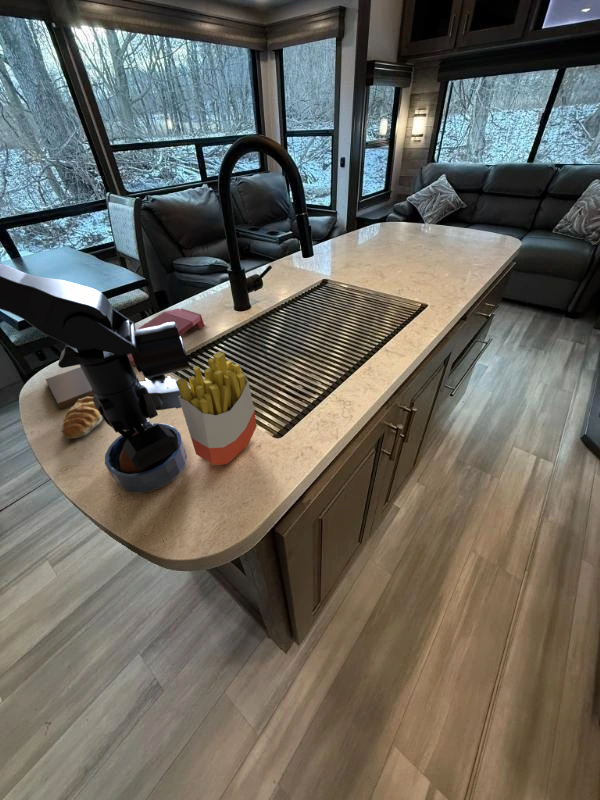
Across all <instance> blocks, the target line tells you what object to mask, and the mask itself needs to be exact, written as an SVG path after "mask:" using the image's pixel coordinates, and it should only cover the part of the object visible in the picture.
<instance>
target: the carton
mask: <svg viewBox="0 0 600 800" xmlns="http://www.w3.org/2000/svg"><path fill="white" fill-rule="evenodd" d="M170 322H175V323H176V325H177V329H178V332H179V336H180V337H181V336H182V335H183V334H185V333H186V332H187V331H189V330H191V328H195V329H198V330H201V329H203V328H204V327H205V326H206V325H205V322H204V320H203V317H202V314H200V313H198V312H194V311H191V310H188V309H184V308H175V309H169V310H166V311H162V312H161V313H159V314H158V315H157V316H155V317H153V318H152V319H151V320H149V321H147V322H145V323H144V324H143V325H141V326H140V327H138V328H137V329H136V330H140V329H145V328H151V327H156V326H160V325H163V324H165V323H170ZM128 356H129V359H130V361H131V364H132V366H136V365H135V363H134V360H133V357H132V354H128Z"/></svg>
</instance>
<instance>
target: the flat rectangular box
mask: <svg viewBox="0 0 600 800" xmlns="http://www.w3.org/2000/svg"><path fill="white" fill-rule="evenodd" d="M45 381H46V383H47V386H48V388H49V389H50V391H51V392H52V396H53V397H54V399H55V401H56V403H57V405H58V406H59V408H60V409H64V408H67V407H70V406H72V405H75V403H76V402H77V401H78V399H82V398H84V397H94V394H93V392H92V390H91V389H92V388H91V386H90V384H89V382H88V380H87V378H86V376H85V374H84V372H83V370H82V368H81V366H79V367H77V368H74V369H71V370H68V371H65V372H62V373H59V374H57V375H54V376H51V377H47V378H45Z"/></svg>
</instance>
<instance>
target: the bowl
mask: <svg viewBox="0 0 600 800" xmlns="http://www.w3.org/2000/svg"><path fill="white" fill-rule="evenodd" d="M151 424H152V425H153V426H154V425H157V424H160V425H165V426H166V427H167V428H168V429H169V430H170V431H171V432H172V434H173V435H174V436H175V437H176V440H177V442H178V445H179V447H178V450H177V451H175V452H173V453H172V454H170V455H168V456H167V457H166V459H165V460H164V461H163V462H162V464H161V465H159V466H158V467H156V468H154V469H152V470H149V471H145V472H142V473H135V474H126V473H123V471H122V470H121V468H120V460H119V458H120V454H121V452H122V450H123V446H124V444H125V442H126V440H127V439H126V438H125V437H124V436H122V435H121V434H120V435H119V436H118V437H117V438H116V439H114V441H112V443H110V445H109V446H108V447H107V450H106V452H105V454H104V465H105V467H106V468H107V470H108V472H109V474H110V475H111V477H112V478H113V481H114V483H115V484H116V486H117V487H119V488H120V489H121V490H123V491H125V492H127V493H134V494H139V493H149V492H152V491H155V490H158V489H161V488H163V487H165V486H166V485H169V483H171V482H173V481H174V480H175V479H176V478H177V477H178V476H179V475H180V474H181V472H182V471H183V470H184V467H186V463H187V459H188V455H187V450H186V447H185V443H184V441H183V438H182V435H181V433H180V432H179V431H178V429H177V428H176V427H174V426H172V425H170V424H167V423H160V422H157V423H151ZM142 426H143V425H142ZM143 427H144V426H143ZM144 428H145V427H144Z"/></svg>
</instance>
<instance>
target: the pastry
mask: <svg viewBox="0 0 600 800" xmlns="http://www.w3.org/2000/svg"><path fill="white" fill-rule="evenodd" d="M93 397H94V396H93ZM93 397H84V398H82V399H78V401H77V402H76V403H75V404H73V406H71V407H69V409H68V410H67V412H66V414H65V416H64V419H63V424H62V433H63V434H64V436H65V437H66V439H68V440H69V439H78V438H81V437H82V438H83V437H84V436H86V435H88V434H89V433H91V431H92V430H94V429H95V428H97V426H99V424H100V423H101V422H102V421H103V420H104V418H103V417H102V416H101V414H100V413H99V411H98V410H97V408H96V406H95V404H94V402H93V400H92V399H93Z"/></svg>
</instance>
